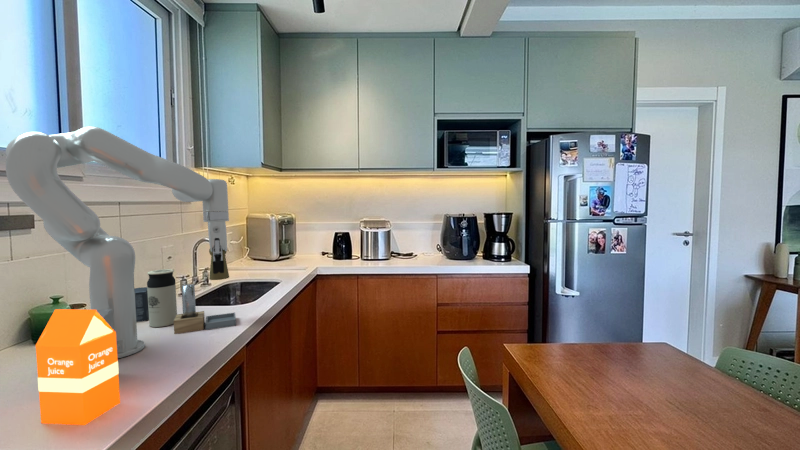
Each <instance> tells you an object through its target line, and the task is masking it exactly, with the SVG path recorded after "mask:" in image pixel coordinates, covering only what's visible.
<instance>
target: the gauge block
mask: <svg viewBox="0 0 800 450" xmlns="http://www.w3.org/2000/svg"><path fill="white" fill-rule="evenodd" d="M205 320H206V317H205V310H202V311H196V317H192V318H184V319H183V313H177V315H176V317H175V319H174V324H173V333H174V335H176V334H182V333H183V334H184V333H189V332H190V333H191V332H195V331H196V332H197V331H203V330H205Z"/></svg>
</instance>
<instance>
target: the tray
mask: <svg viewBox="0 0 800 450" xmlns="http://www.w3.org/2000/svg"><path fill="white" fill-rule="evenodd" d="M234 326H235V327H236V326H237V318H236V312H229V313H222V314H221V313H220V314H214V315H206V316H205V324H204V330H205V331H206V330H207V331H208V330H213V329H221V328H228V327H234Z"/></svg>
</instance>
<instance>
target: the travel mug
mask: <svg viewBox="0 0 800 450" xmlns="http://www.w3.org/2000/svg"><path fill="white" fill-rule="evenodd" d="M174 272H175V270H174V269H172V268H170V269H169V268H167V269H156V270H150V271H148V272H147V276H148V280H147V282H146V285H147V286H146V287H147V292H148V310H149V319H148V324H149V327H152V328H163V327H169V326H172V325H174V319H175V317H176V315H177V314H178V310H177V309H178V304H177V288H176V285H177V284H176V278H175V277H174V276H173V275H174Z"/></svg>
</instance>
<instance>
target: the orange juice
mask: <svg viewBox="0 0 800 450" xmlns="http://www.w3.org/2000/svg"><path fill="white" fill-rule="evenodd" d="M34 347H35V354H36V356H35V357H36V368H37V371H36V372H37V388H38V389H37V390H38V397H39V411H40V423H41V424H46V425H72V426H73V425H74V426H86V425H88V424H89V423H91V422H92V421H93V420H95V419H97V418H99V417H101V416H102V415H103V414H105V413H107V412H109V411H110V410H111V409H113V408H114V407H116V406H118V405H119V404H121V395H120V393H121V392H120V377H119V373H120V372H119V371H120V369H119V358H117V342H116V332H115V331H114V330H113V329H112V328H111V327H110V326H109V324H108V323H107V322H106V321H105V320H104V319H103V318H102V316H101V315H100V314H99V313H98V312H97V311H96V310H91V309H71V308H70V309H69V308H68V309H67V308H65V309H64V308H62V309H60V308H59V309H55V308H54V311H53V313H52V315H51V316H50V318H49V320H48V321H47V324H46V326H45V328H44V329H43V331H42V333H41V335H40V336H39V338H38V340H37V342H36V343H35V346H34Z"/></svg>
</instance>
